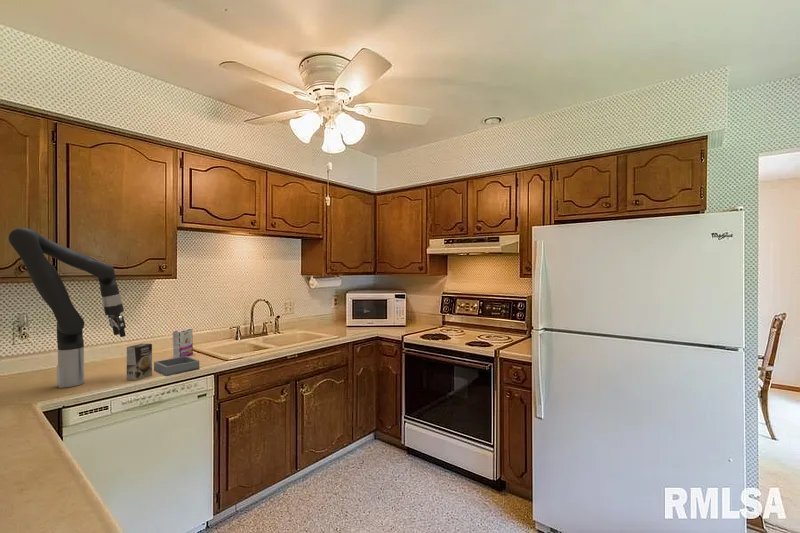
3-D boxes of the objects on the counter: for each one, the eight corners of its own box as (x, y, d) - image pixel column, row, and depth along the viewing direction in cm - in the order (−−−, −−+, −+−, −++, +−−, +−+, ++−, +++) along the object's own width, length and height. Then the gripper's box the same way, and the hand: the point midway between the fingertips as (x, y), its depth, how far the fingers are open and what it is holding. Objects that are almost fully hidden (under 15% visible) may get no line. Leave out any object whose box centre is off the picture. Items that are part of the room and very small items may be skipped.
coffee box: (137, 380, 182) (136, 347, 182) (126, 379, 183) (125, 346, 183) (152, 375, 191) (152, 343, 191) (142, 374, 192) (142, 343, 192)
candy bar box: (186, 354, 235) (185, 328, 235) (193, 354, 234) (192, 328, 234) (172, 358, 224) (172, 331, 224) (180, 359, 223) (179, 331, 223)
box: (166, 376, 189) (166, 367, 189) (153, 370, 200) (153, 361, 200) (199, 369, 202) (199, 360, 201) (186, 363, 212) (186, 355, 212)
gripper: (98, 305, 186) (106, 336, 188) (108, 307, 177) (116, 339, 180) (116, 301, 192) (123, 331, 194) (126, 303, 183) (133, 334, 185)
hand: (119, 335), depth 187 cm, fingers open, 8 cm apart
